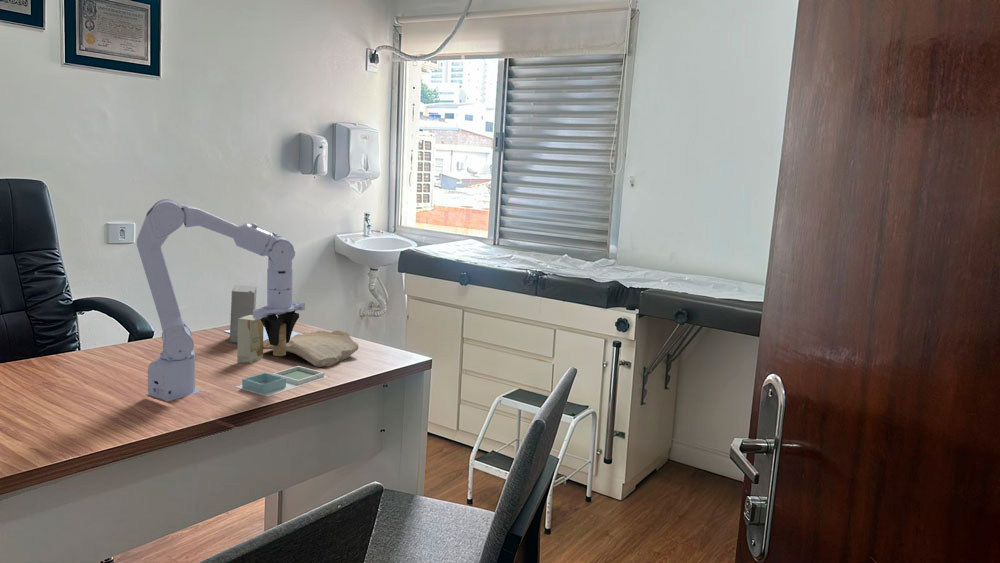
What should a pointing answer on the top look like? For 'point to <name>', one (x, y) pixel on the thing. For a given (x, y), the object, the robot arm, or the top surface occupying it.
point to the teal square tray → (271, 385)
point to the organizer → (294, 378)
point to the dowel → (281, 342)
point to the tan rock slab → (320, 347)
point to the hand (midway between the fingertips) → (279, 343)
